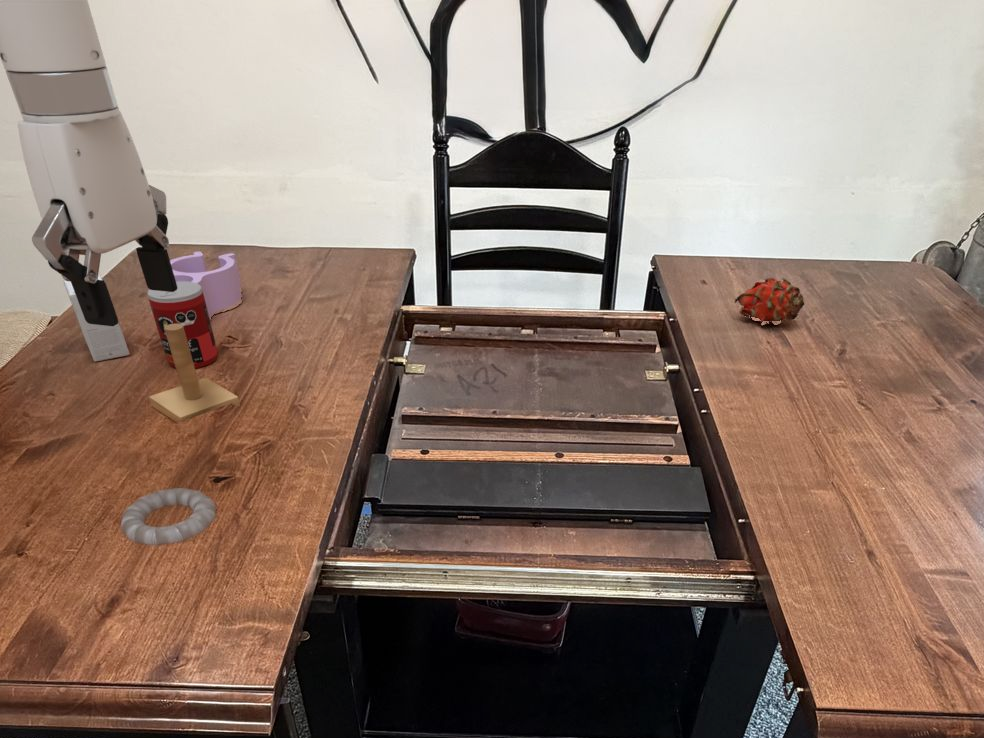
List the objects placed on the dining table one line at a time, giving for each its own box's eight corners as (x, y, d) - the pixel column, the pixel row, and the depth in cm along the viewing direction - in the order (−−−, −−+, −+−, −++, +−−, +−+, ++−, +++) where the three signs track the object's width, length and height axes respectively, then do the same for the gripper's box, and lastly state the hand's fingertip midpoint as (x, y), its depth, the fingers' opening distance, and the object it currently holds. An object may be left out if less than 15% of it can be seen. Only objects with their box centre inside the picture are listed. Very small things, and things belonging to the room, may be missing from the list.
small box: (130, 356, 115) (108, 289, 108) (93, 362, 113) (68, 294, 106) (122, 339, 120) (100, 274, 113) (86, 345, 118) (62, 279, 111)
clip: (212, 330, 124) (201, 289, 119) (144, 326, 125) (131, 285, 120) (254, 291, 139) (247, 254, 134) (193, 288, 140) (184, 250, 135)
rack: (183, 427, 98) (158, 345, 90) (151, 406, 103) (125, 326, 95) (240, 406, 103) (221, 326, 95) (208, 386, 107) (187, 309, 100)
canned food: (157, 366, 113) (135, 294, 105) (188, 347, 118) (169, 278, 111) (199, 373, 111) (180, 301, 104) (228, 353, 117) (211, 284, 109)
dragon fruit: (799, 338, 129) (731, 338, 134) (805, 298, 131) (737, 299, 135) (804, 309, 122) (731, 310, 126) (810, 266, 123) (738, 268, 127)
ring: (152, 565, 76) (145, 547, 74) (109, 526, 81) (102, 509, 79) (235, 525, 81) (230, 508, 79) (190, 492, 86) (185, 475, 84)
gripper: (94, 82, 66) (153, 276, 77) (-56, 109, 53) (40, 335, 65) (166, 85, 65) (214, 281, 76) (29, 113, 52) (112, 343, 63)
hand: (134, 306), depth 70 cm, fingers open, 9 cm apart
